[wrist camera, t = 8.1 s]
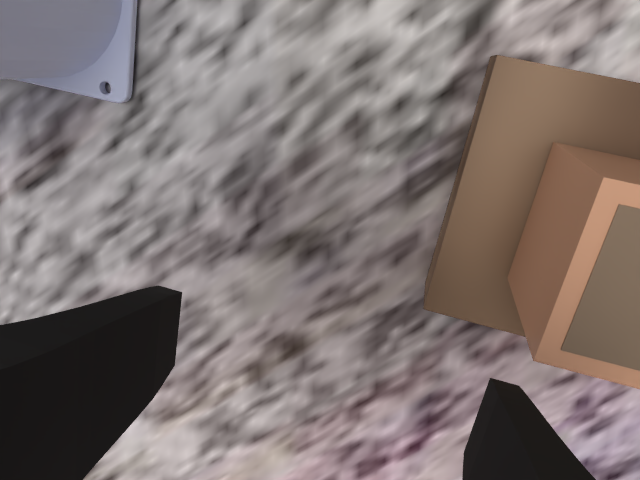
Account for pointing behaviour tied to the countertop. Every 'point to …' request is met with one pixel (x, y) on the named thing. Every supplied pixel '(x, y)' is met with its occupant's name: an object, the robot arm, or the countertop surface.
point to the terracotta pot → (583, 265)
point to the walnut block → (517, 176)
